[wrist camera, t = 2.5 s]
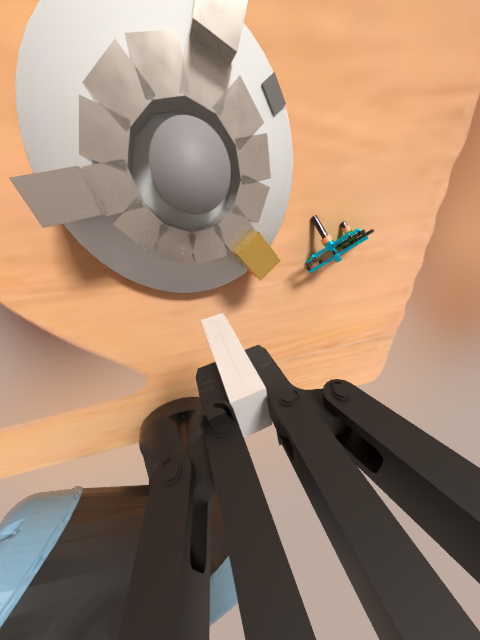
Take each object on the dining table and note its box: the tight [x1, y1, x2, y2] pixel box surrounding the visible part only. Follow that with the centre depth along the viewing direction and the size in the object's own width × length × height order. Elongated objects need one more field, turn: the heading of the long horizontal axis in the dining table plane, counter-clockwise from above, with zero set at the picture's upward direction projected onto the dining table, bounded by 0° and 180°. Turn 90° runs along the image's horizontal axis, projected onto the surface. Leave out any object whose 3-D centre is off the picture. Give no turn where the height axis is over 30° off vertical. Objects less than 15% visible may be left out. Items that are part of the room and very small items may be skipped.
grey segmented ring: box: [10, 0, 280, 280], centre depth 19 cm, size 21×19×4 cm
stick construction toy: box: [306, 215, 374, 273], centre depth 28 cm, size 12×7×8 cm
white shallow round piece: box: [16, 0, 293, 293], centre depth 18 cm, size 24×24×7 cm
